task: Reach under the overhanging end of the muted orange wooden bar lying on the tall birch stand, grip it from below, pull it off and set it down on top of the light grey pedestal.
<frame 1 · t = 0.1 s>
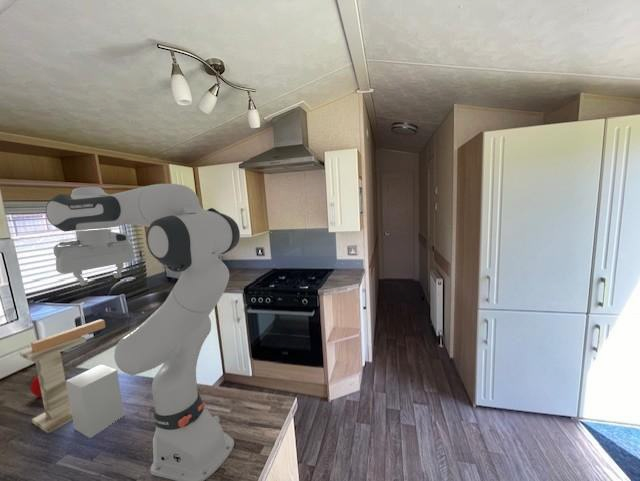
hand: (101, 280, 89), 48 cm above the counter, tool pointing down, fingers open, 8 cm apart
fruit: (48, 393, 111), on the counter
bar: (71, 338, 99), point 26 cm above the counter, touching tall stand
skincare box: (51, 367, 132), on the counter
tall stand: (66, 413, 98), on the counter
pedestal: (100, 422, 92), on the counter
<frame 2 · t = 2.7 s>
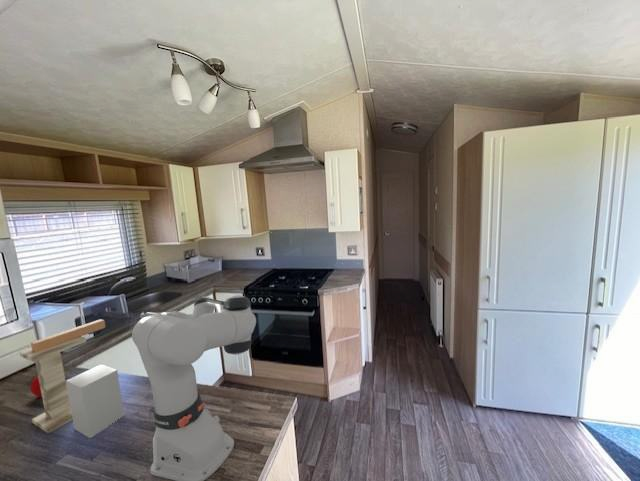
hand: (147, 316, 121), 25 cm above the counter, tool pointing upward, fingers open, 8 cm apart
nothing on the counter moved.
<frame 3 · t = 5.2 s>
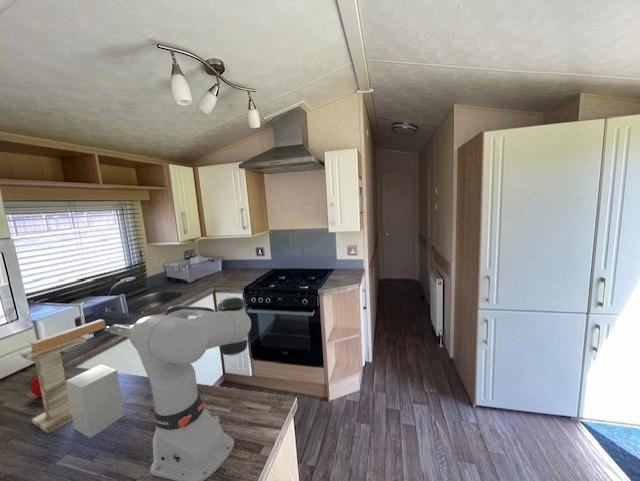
hand: (112, 330, 111), 23 cm above the counter, tool pointing upward, fingers open, 8 cm apart
nothing on the counter moved.
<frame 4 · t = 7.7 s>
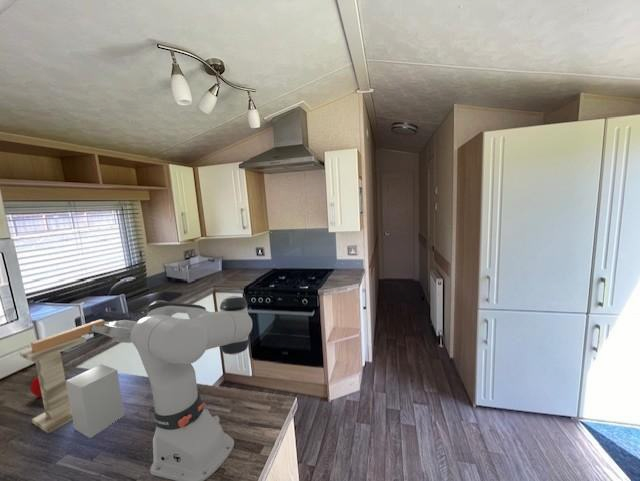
hand: (88, 327, 104), 28 cm above the counter, tool pointing upward, fingers closed on bar, 3 cm apart
bar: (71, 338, 99), point 26 cm above the counter, touching gripper, tall stand
everything else where it was.
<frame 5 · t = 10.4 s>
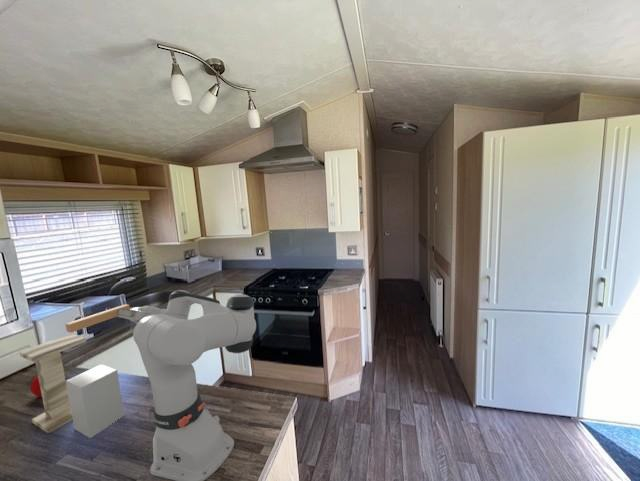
hand: (115, 311, 111), 31 cm above the counter, tool pointing upward, fingers closed on bar, 3 cm apart
bar: (101, 320, 106), point 29 cm above the counter, touching gripper
everything else where it was.
when the fingers open (21 cm above the counter, at t = 13.6 s): bar drops 2 cm, resting on pedestal.
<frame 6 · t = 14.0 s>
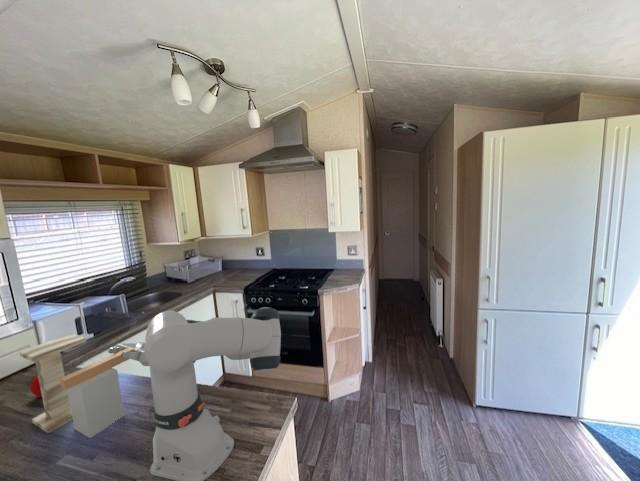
hand: (116, 352, 97), 21 cm above the counter, tool pointing upward, fingers open, 7 cm apart
bar: (101, 370, 93), point 17 cm above the counter, touching pedestal
everything else where it was.
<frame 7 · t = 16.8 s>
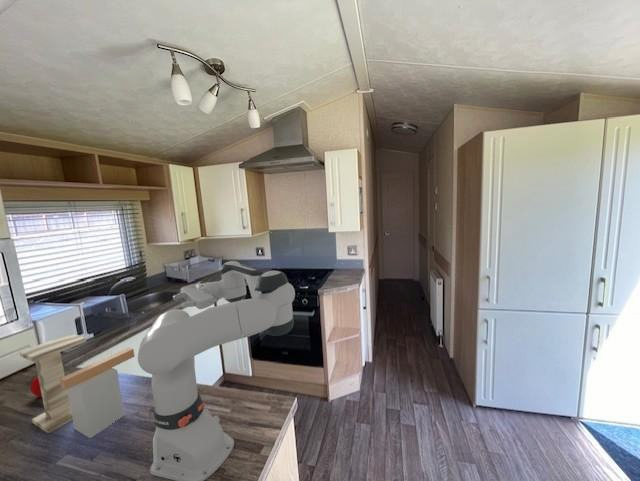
hand: (177, 301, 116), 32 cm above the counter, tool horizontal, fingers open, 8 cm apart
nothing on the counter moved.
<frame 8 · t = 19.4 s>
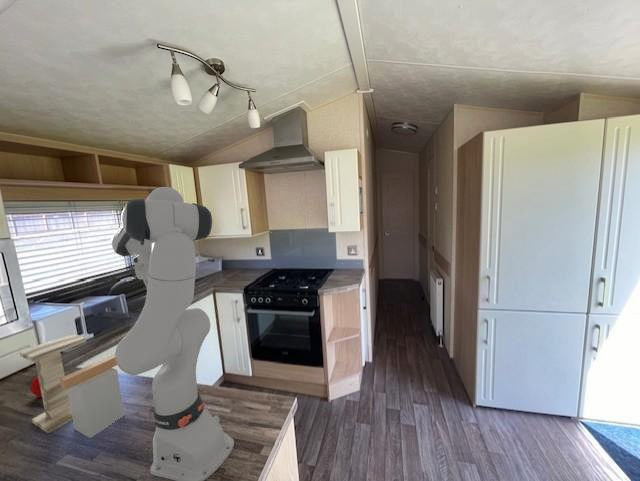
hand: (156, 290, 116), 37 cm above the counter, tool pointing down, fingers open, 8 cm apart
nothing on the counter moved.
at the end: bar inside the target area on the pedestal (0.6 cm from its centre), point 17.0 cm above the pedestal's base; bar touching pedestal; the gripper is holding nothing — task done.
